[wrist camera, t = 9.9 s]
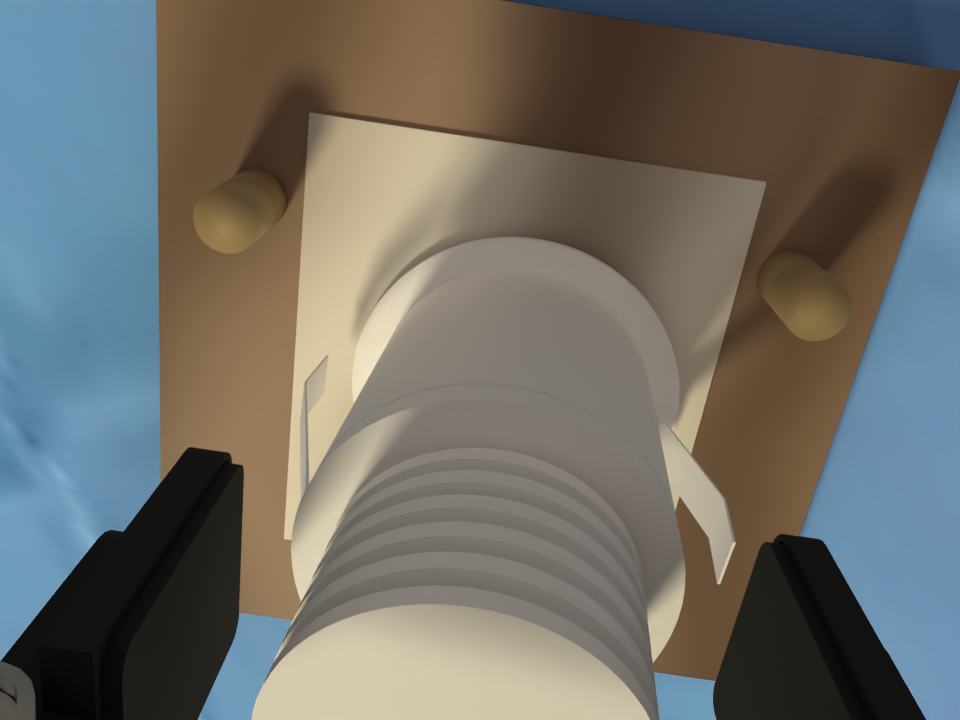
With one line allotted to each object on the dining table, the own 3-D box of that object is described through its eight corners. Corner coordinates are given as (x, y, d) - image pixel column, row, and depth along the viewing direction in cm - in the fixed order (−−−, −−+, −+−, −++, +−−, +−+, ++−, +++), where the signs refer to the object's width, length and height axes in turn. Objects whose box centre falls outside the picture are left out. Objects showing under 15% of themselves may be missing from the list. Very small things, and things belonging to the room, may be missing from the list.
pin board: (932, 67, 17) (1021, 80, 14) (735, 651, 22) (767, 749, 20) (180, -50, 16) (106, -62, 13) (180, 571, 22) (128, 657, 19)
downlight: (742, 277, 17) (941, 603, 8) (650, 556, 20) (715, 1037, 11) (356, 196, 17) (102, 419, 8) (320, 484, 20) (102, 894, 11)
